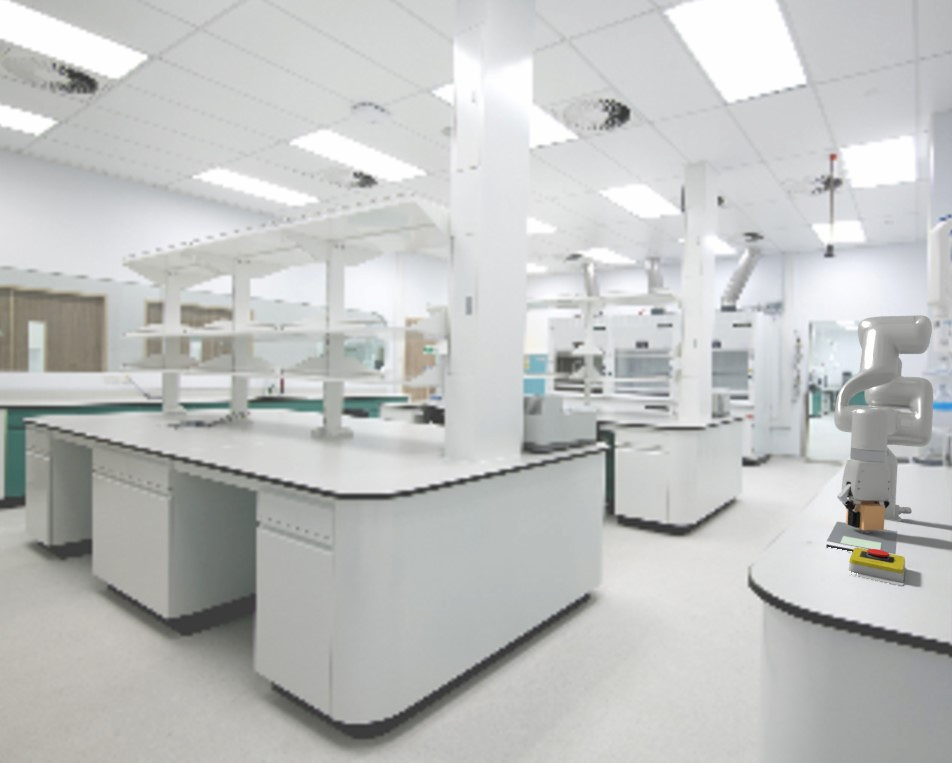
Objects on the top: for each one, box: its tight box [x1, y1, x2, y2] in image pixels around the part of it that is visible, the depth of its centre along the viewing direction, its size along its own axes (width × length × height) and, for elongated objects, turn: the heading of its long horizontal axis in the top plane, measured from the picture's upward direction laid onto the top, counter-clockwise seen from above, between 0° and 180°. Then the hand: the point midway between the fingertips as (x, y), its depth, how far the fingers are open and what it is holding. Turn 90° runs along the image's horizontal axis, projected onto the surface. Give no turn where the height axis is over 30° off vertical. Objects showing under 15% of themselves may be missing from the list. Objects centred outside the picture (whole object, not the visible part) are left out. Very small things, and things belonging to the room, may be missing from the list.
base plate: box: [825, 521, 898, 555], centre depth 136 cm, size 24×13×6 cm, turn 141°
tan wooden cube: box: [845, 501, 885, 530], centre depth 140 cm, size 6×6×7 cm
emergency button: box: [847, 547, 906, 587], centre depth 116 cm, size 9×4×15 cm
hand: (864, 525), depth 140 cm, fingers closed on tan wooden cube, 5 cm apart
